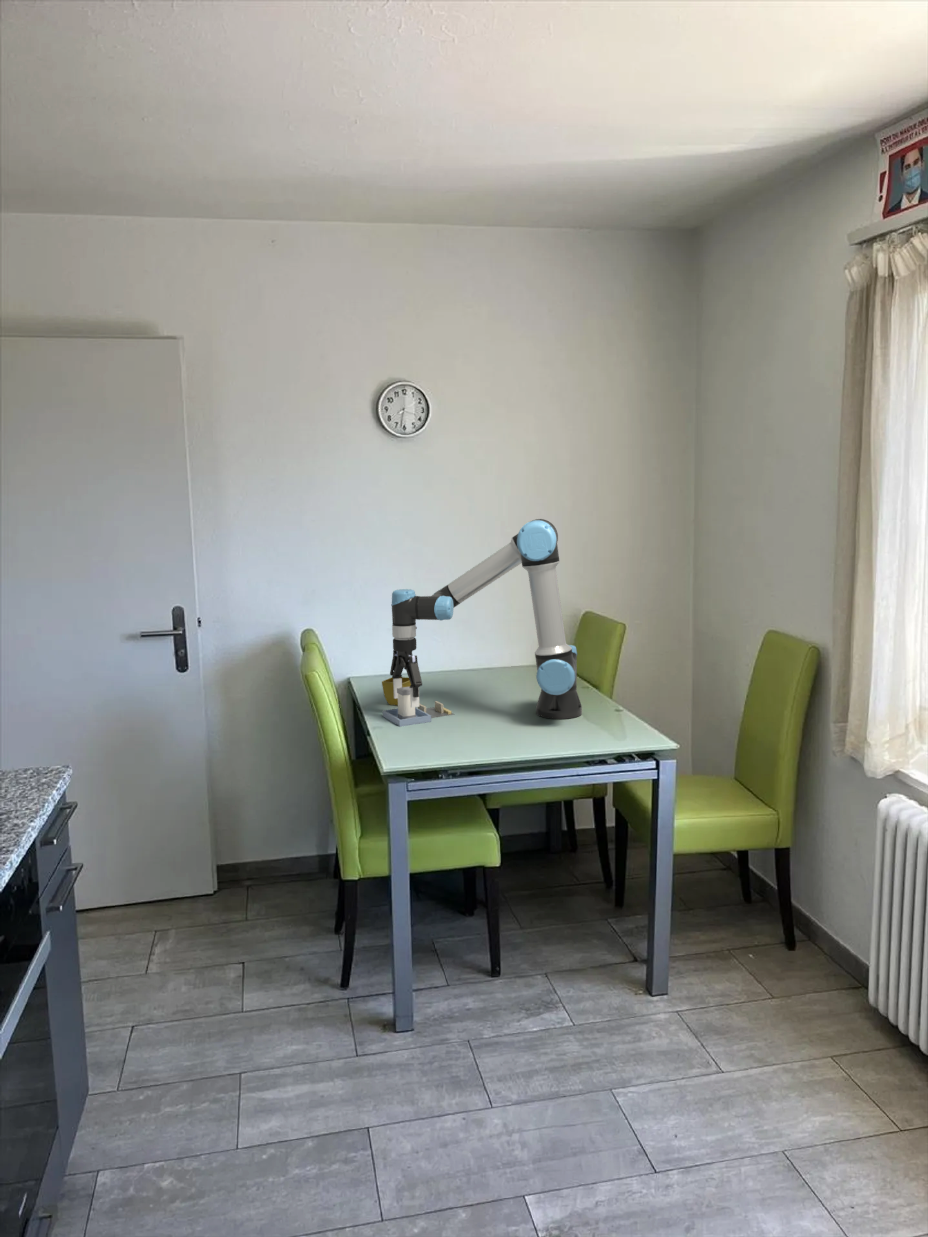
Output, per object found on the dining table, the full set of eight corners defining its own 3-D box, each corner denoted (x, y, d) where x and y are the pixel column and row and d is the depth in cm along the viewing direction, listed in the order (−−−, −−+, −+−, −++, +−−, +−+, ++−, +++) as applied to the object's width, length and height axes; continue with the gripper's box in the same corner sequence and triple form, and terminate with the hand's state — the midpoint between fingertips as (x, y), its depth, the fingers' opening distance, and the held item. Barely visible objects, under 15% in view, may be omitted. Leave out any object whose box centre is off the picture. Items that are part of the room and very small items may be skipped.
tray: (431, 723, 292) (431, 715, 291) (399, 728, 287) (399, 720, 287) (413, 713, 304) (413, 706, 304) (382, 717, 299) (382, 710, 299)
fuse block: (454, 715, 300) (454, 705, 300) (427, 720, 296) (427, 709, 295) (439, 707, 311) (438, 697, 310) (412, 711, 306) (412, 701, 306)
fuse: (416, 719, 294) (415, 689, 293) (403, 721, 292) (402, 691, 291) (410, 716, 298) (409, 686, 297) (397, 718, 296) (396, 688, 295)
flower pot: (381, 706, 314) (380, 681, 313) (395, 700, 322) (394, 675, 320) (403, 709, 310) (402, 683, 309) (416, 703, 318) (416, 678, 316)
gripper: (431, 642, 282) (433, 709, 285) (399, 631, 304) (401, 692, 307) (409, 645, 279) (411, 712, 282) (378, 633, 300) (381, 695, 304)
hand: (406, 702), depth 295 cm, fingers open, 13 cm apart
